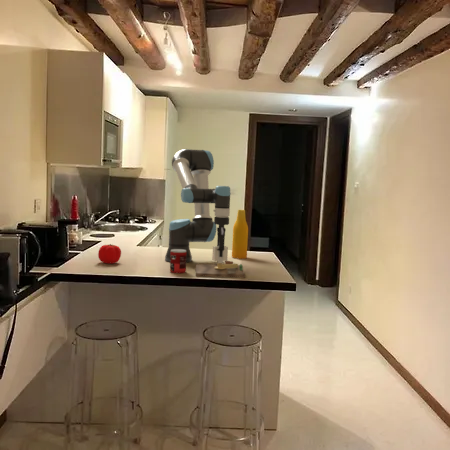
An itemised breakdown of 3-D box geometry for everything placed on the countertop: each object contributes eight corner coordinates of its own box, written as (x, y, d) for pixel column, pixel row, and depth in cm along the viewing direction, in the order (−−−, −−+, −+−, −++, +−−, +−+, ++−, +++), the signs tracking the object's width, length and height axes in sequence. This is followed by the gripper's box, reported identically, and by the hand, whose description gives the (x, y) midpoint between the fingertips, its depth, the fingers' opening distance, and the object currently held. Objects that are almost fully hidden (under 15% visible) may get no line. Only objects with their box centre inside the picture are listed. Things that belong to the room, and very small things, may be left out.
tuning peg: (211, 267, 241) (212, 246, 240) (235, 266, 247) (236, 245, 246) (215, 269, 237) (216, 247, 236) (239, 268, 242) (240, 247, 241)
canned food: (170, 270, 240) (170, 248, 239) (185, 270, 241) (186, 249, 239) (169, 273, 232) (170, 251, 231) (185, 273, 233) (186, 251, 232)
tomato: (98, 265, 244) (98, 245, 243) (97, 261, 255) (98, 242, 254) (121, 265, 247) (122, 245, 246) (120, 261, 258) (120, 242, 257)
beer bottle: (235, 259, 279) (237, 210, 276) (229, 256, 288) (231, 209, 285) (249, 258, 283) (251, 210, 280) (243, 256, 291) (245, 209, 288)
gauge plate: (195, 276, 228) (195, 268, 228) (195, 266, 252) (196, 259, 251) (244, 277, 229) (245, 269, 229) (240, 267, 253) (240, 260, 253)
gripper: (213, 214, 246) (211, 258, 248) (215, 217, 229) (213, 265, 231) (227, 215, 247) (225, 259, 249) (231, 218, 230) (229, 265, 232)
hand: (219, 262), depth 240 cm, fingers closed on tuning peg, 4 cm apart
